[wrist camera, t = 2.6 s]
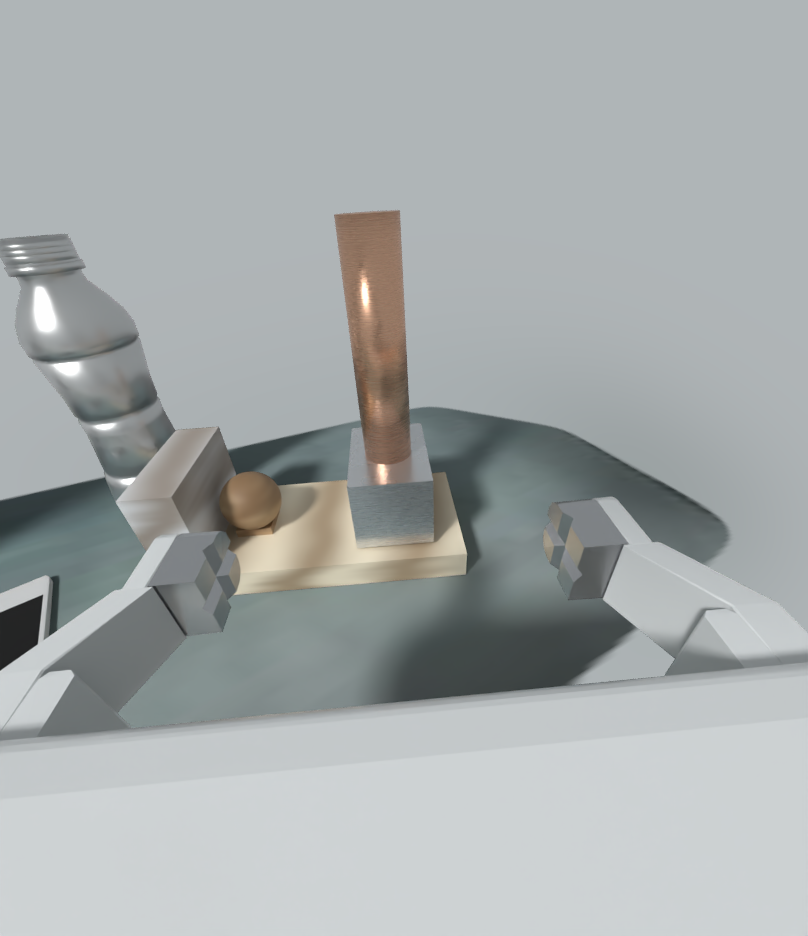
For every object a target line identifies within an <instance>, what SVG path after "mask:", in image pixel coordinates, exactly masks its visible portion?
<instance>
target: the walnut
mask: <svg viewBox="0 0 808 936" xmlns="http://www.w3.org/2000/svg"><path fill="white" fill-rule="evenodd" d="M281 503H282V497H281V492H280V489H279V487H278V485H277V484H276V483H275V482H274V480H273V479H271V478H270V477H269V476H267V475H265V474H262V473H259V472H243V473H240V474H238V475H236V476H234V477H232V478H231V479H230V480H229V481H228V482H227V483H226V484H225V485H224V487H223V488H222V491H221V493H220V498H219V505H220V510H221V512H222V514H223V516H224V518H225V519H226V520H227V521H228V522H229V523H230V524H232V525H233V526H235V527H237V529H236V533H237V535H238V537H247V536H258V535H270V534H273V532H274V529H275V526H276V522H277V519H278V515H279V512H280V511H279V510H280V508H281Z"/></svg>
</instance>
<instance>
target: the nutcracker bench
mask: <svg viewBox="0 0 808 936" xmlns="http://www.w3.org/2000/svg"><path fill="white" fill-rule="evenodd" d="M234 476H236V472H235V470H234V467H233V464H232V462H231V459H230V456H229V453H228V451H227V448H226V445H225V443H224V440H223V437H222V435H221V432H220V429H219V427H208V428H195V429H183V430H176V431H175V432H174V433H173V434H172V436H171V437H170V438H169V439H168V440H167V441H166V443H165V444H164V445H163V446H162V447H161V449H160V450H159V451H158V452H157V453H156V454H155V456H154V457H153V458H152V459H151V460H150V462H149V463H148V464H147V465H146V466H145V467H144V469H143V470H142V471H141V472H140V473H139V475H138V476H137V477H136V478H135V479H134V480H133V482H132V483H131V484H130V485H129V486H128V488H127V489H126V490H125V491H124V492H123V493H122V495H121V496H120V497H119V498H118V499H117V501H116V504H117V505H118V507H119V508H120V510H121V512H122V513H123V515H124V516H125V518H126V520H127V521H128V523H129V524H130V526H131V528H132V529H133V531H134V532H135V534H136V536H137V537H138V539H139V540H140V542H141V544H142V545H143V547H144V548H145V550H146V551H147V550H148V548H149V547H150V545H151V544H152V542H153V541H154V539H155V538H157V537H159V536H160V535H173V534H182V533H198V532H214V531H223V532H226V534H227V536H228V538H229V540H230V545H229V547H228V550H230V551H231V552H233V553H235V554H236V555H237V558H238V560H239V564H240V570H241V571H240V582H239V585H238V589H237V592H236V593H235V594H233V595H239V594H250V593H262V592H273V591H284V590H296V589H307V588H318V587H330V586H341V585H353V584H364V583H375V582H387V581H398V580H409V579H421V578H432V577H444V576H455V575H466V564H467V552H466V548H465V544H464V540H463V537H462V533H461V529H460V525H459V522H458V518H457V514H456V510H455V507H454V503H453V499H452V495H451V492H450V488H449V484H448V480H447V477H446V473H445V472H440V473H432V477H433V502H434V542H426V543H414V544H402V545H391V546H379V547H367V548H357V544H356V538H355V532H354V526H353V521H352V515H351V509H350V503H349V497H348V491H347V480H341V481H328V482H316V483H304V484H291V485H279V486H278V487H279V489H280V492H281V497H282V503H281V508H280V510H279V511H280V512H279V515H278V519H277V522H276V526H275V529H274V532H273V534H270V535H258V536H247V537H238V535H237V533H236V529H237V527H235V526H233V525H232V524H230V523H229V522H228V521H227V520H226V519H225V518H224V516H223V514H222V512H221V510H220V505H219V498H220V493H221V491H222V488H223V487H224V485H225V484H226V483H227V482H228V481H229V480H230V479H231V478H232V477H234Z"/></svg>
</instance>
